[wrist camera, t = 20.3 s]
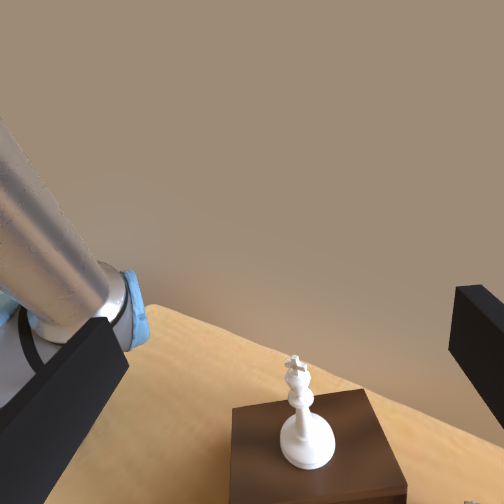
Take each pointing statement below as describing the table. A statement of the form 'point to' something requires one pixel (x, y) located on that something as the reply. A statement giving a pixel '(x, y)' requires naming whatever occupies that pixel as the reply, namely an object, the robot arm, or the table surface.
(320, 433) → the chess piece
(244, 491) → the step shelf
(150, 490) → the table surface
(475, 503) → the geological specimen
